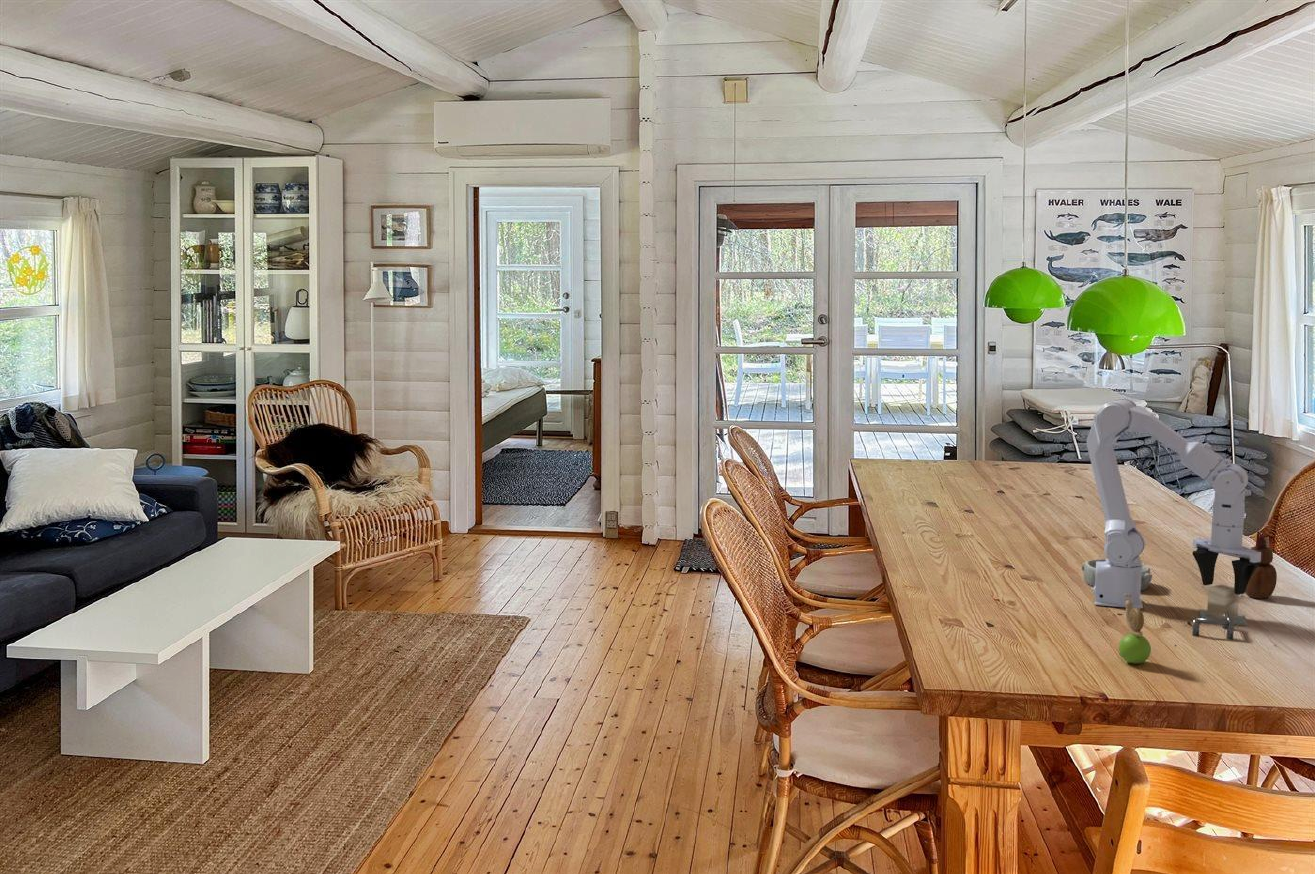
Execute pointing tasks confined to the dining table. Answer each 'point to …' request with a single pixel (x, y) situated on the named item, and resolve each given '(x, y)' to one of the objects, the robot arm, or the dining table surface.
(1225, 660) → the dining table surface
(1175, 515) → the dining table surface
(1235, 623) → the mat
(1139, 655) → the green beige tall piece
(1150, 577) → the dish
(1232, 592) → the ash block
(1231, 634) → the bent rod
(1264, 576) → the wooden figurine
